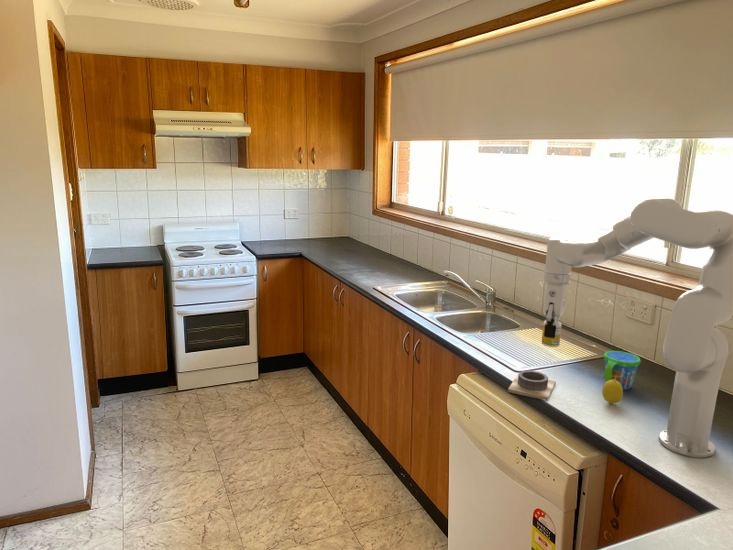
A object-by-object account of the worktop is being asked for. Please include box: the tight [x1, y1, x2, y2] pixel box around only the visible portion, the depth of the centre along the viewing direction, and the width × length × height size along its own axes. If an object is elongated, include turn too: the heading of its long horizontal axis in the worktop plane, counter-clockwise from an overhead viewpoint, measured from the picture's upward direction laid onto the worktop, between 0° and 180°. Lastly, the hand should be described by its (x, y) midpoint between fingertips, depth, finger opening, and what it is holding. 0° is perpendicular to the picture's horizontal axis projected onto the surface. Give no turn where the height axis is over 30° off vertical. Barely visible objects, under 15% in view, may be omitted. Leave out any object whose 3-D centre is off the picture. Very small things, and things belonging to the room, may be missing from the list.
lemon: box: [601, 379, 624, 405], centre depth 165 cm, size 6×6×8 cm
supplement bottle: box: [541, 313, 563, 348], centre depth 173 cm, size 5×5×10 cm
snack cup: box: [603, 350, 642, 391], centre depth 178 cm, size 16×10×10 cm
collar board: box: [507, 370, 557, 401], centre depth 175 cm, size 14×12×4 cm
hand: (551, 333), depth 174 cm, fingers closed on supplement bottle, 5 cm apart
